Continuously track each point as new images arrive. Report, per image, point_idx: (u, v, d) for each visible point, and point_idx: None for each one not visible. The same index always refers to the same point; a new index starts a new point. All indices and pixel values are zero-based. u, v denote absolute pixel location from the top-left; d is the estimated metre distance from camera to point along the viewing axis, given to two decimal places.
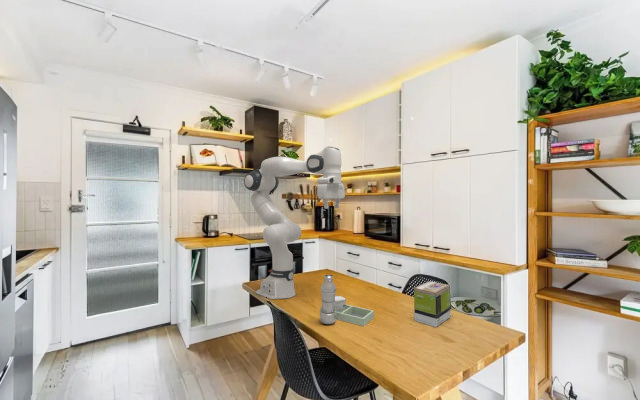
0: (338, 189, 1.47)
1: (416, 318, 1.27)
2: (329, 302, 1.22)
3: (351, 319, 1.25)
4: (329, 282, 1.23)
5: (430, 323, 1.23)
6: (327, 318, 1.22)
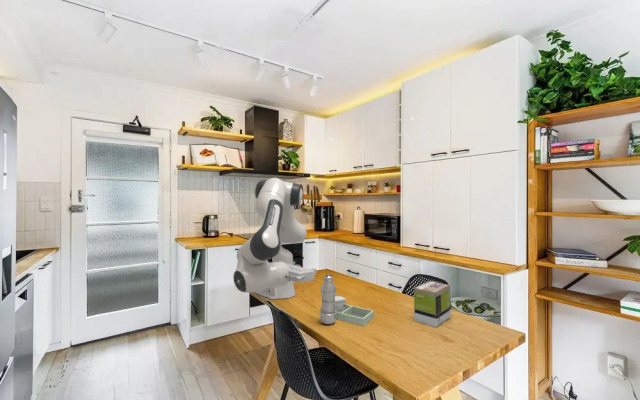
0: None
1: (416, 318, 1.27)
2: (329, 302, 1.22)
3: (351, 319, 1.25)
4: (329, 282, 1.23)
5: (430, 323, 1.23)
6: (327, 318, 1.22)
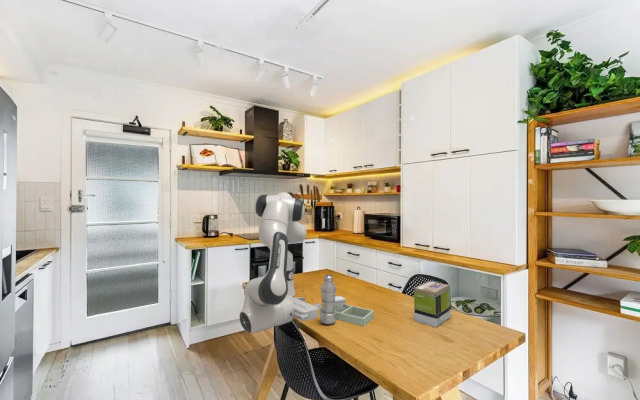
0: None
1: (416, 318, 1.27)
2: (329, 302, 1.22)
3: (351, 319, 1.25)
4: (329, 282, 1.23)
5: (430, 323, 1.23)
6: (327, 318, 1.22)
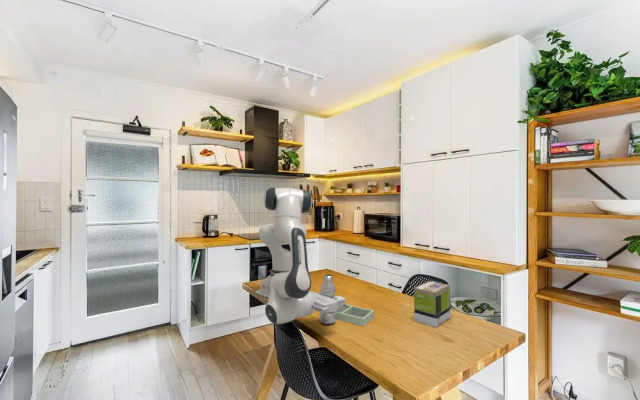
0: None
1: (416, 318, 1.27)
2: None
3: (351, 319, 1.25)
4: (329, 282, 1.23)
5: (430, 323, 1.23)
6: (327, 318, 1.22)
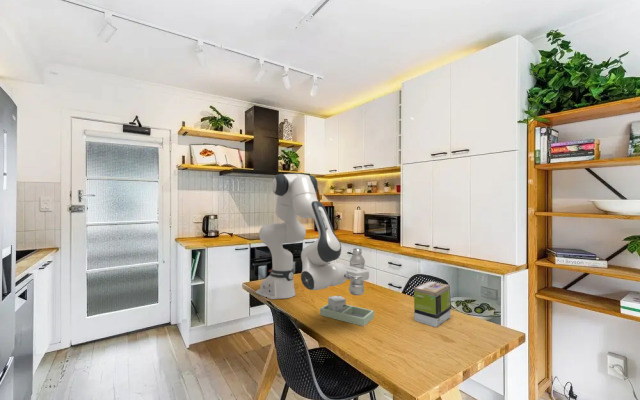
0: None
1: (416, 318, 1.27)
2: None
3: (351, 319, 1.25)
4: (358, 255, 1.28)
5: (430, 323, 1.23)
6: (356, 289, 1.26)
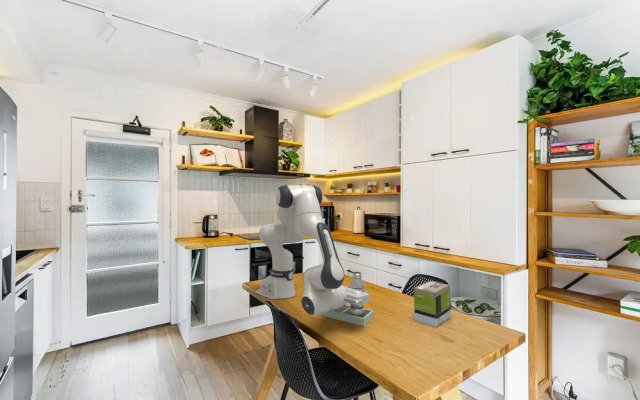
0: None
1: (416, 318, 1.27)
2: None
3: (351, 319, 1.25)
4: (358, 279, 1.28)
5: (430, 323, 1.23)
6: (356, 313, 1.26)
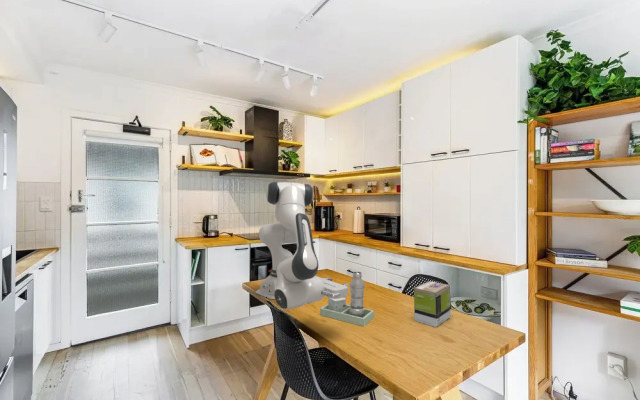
0: None
1: (416, 318, 1.27)
2: (359, 298, 1.27)
3: (351, 319, 1.25)
4: (358, 279, 1.28)
5: (430, 323, 1.23)
6: (356, 313, 1.27)
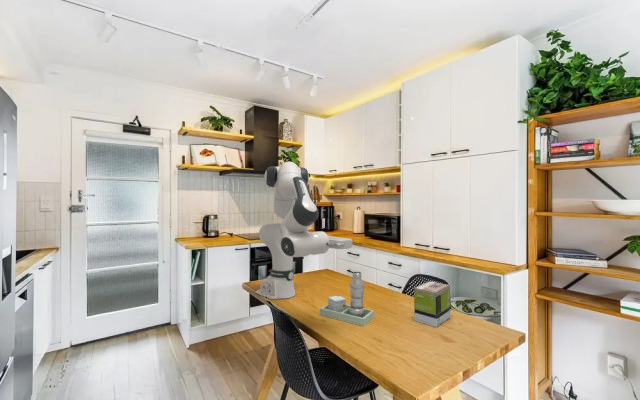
0: None
1: (416, 318, 1.27)
2: (359, 298, 1.27)
3: (351, 319, 1.25)
4: (358, 279, 1.28)
5: (430, 323, 1.23)
6: (356, 313, 1.27)
